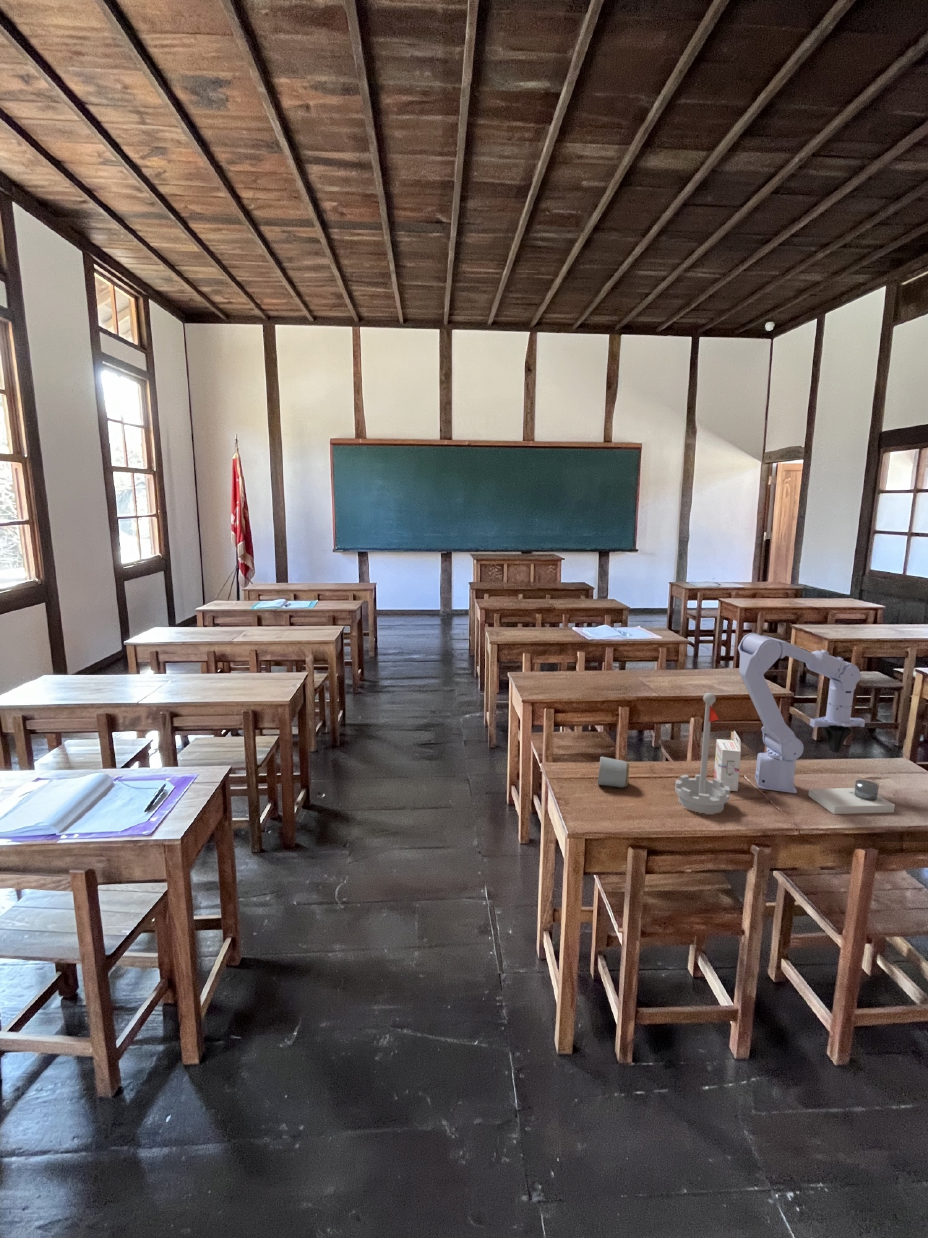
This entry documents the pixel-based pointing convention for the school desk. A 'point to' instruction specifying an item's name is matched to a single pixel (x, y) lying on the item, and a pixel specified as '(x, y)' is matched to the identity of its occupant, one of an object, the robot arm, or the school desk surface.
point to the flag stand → (703, 776)
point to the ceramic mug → (613, 772)
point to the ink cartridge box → (728, 762)
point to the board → (849, 801)
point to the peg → (866, 790)
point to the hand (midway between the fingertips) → (834, 751)
